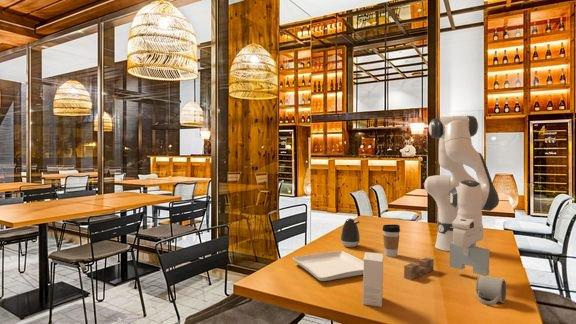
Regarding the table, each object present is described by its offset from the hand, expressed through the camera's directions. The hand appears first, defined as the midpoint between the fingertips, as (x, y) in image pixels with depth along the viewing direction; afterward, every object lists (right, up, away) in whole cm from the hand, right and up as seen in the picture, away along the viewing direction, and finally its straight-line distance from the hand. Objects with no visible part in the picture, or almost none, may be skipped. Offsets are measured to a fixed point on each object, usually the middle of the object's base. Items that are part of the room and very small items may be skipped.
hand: (468, 254), depth 136 cm
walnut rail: (-19, -9, +4) cm, 21 cm away
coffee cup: (-23, -9, +30) cm, 39 cm away
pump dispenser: (-40, -9, +46) cm, 62 cm away
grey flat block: (0, -7, 0) cm, 7 cm away
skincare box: (-45, -10, -22) cm, 51 cm away
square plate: (-55, -10, +10) cm, 56 cm away
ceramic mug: (-4, -10, -21) cm, 24 cm away
